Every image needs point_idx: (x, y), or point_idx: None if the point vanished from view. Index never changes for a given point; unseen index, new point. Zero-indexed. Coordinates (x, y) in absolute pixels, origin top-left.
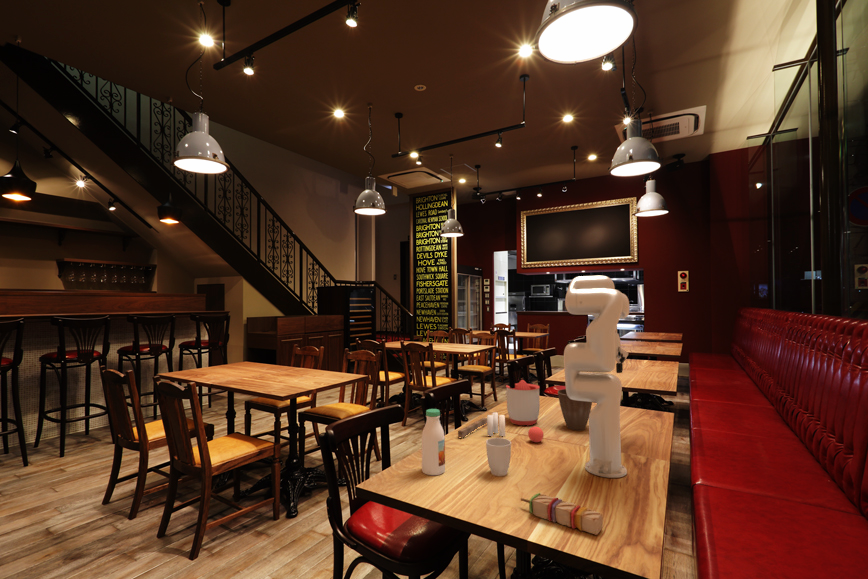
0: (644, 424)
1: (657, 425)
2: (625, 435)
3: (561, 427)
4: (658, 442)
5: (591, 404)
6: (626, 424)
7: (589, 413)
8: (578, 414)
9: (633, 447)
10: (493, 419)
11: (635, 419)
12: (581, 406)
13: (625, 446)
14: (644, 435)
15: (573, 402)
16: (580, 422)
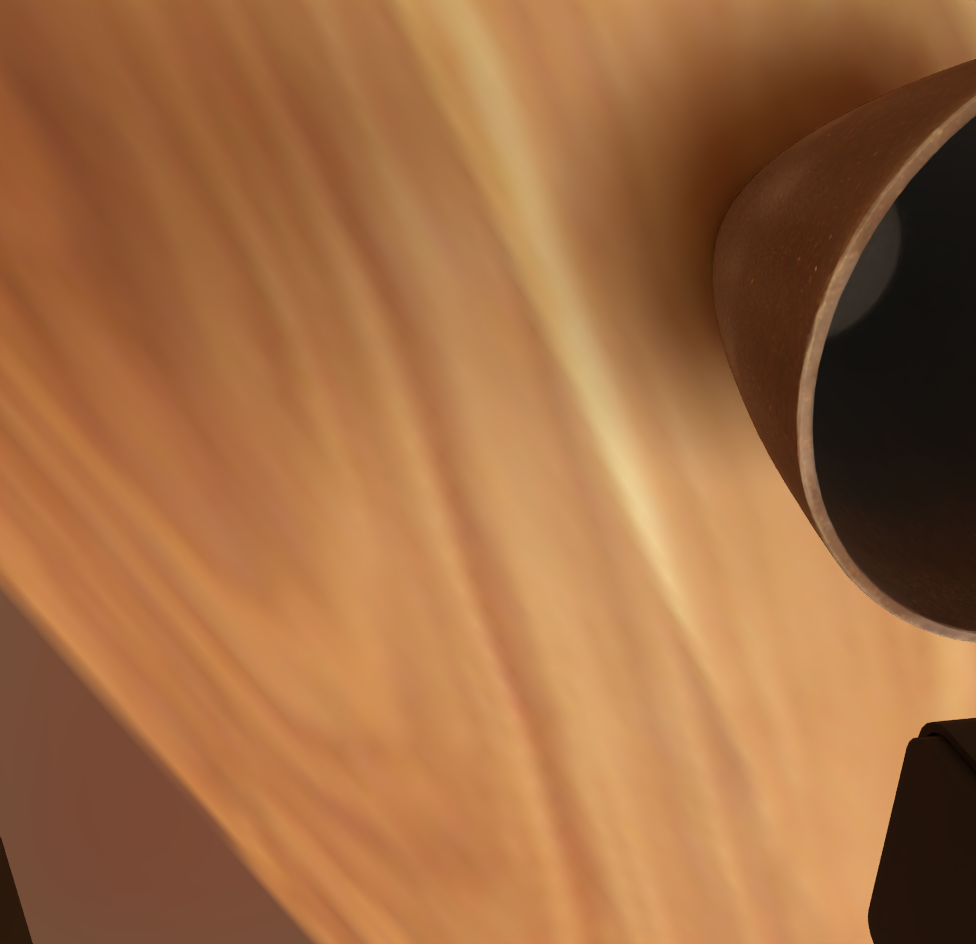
0: (454, 862)
1: (373, 916)
2: (343, 468)
3: None
4: (27, 536)
5: (756, 424)
6: (550, 750)
7: (728, 357)
8: (792, 159)
9: (20, 180)
10: None
11: (585, 913)
12: (801, 190)
13: (86, 135)
14: (244, 611)
15: (938, 84)
16: (743, 195)
